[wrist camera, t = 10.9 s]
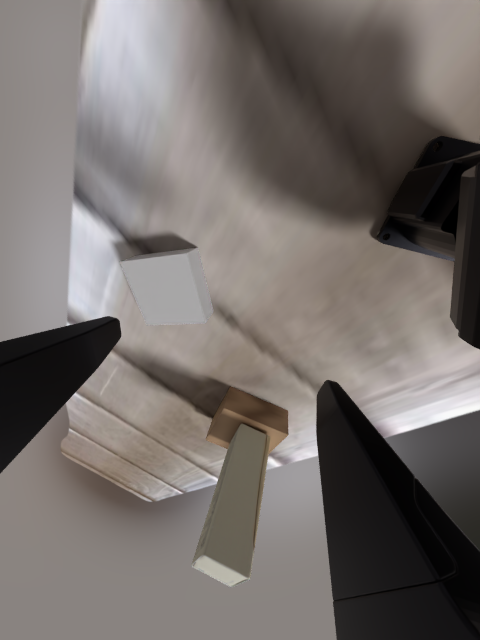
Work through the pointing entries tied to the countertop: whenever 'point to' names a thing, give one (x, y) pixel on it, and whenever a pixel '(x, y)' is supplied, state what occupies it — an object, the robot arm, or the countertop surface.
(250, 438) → the skincare box
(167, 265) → the grey block
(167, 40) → the countertop surface
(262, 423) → the brown flat block
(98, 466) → the countertop surface
